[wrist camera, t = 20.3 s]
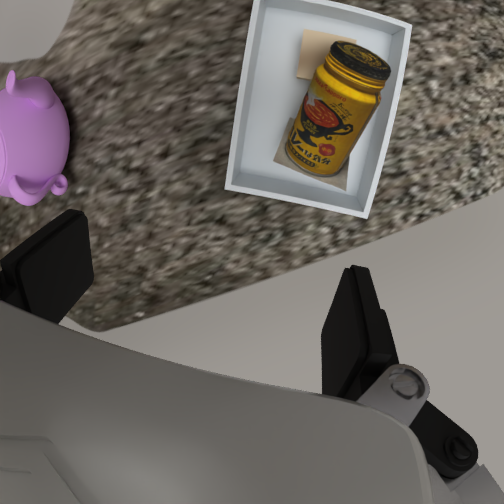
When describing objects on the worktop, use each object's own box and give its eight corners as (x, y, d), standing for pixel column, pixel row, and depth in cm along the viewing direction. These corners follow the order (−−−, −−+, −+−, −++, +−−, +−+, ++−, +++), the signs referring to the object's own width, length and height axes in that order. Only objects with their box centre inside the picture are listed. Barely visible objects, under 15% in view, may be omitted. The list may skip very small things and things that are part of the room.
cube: (303, 36, 29) (303, 28, 24) (348, 46, 28) (356, 39, 24) (296, 78, 31) (296, 76, 27) (342, 87, 31) (348, 87, 27)
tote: (262, 3, 28) (255, -11, 23) (396, 32, 27) (412, 24, 22) (234, 175, 38) (224, 189, 33) (358, 200, 37) (367, 218, 33)
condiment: (272, 162, 29) (319, 46, 19) (289, 118, 33) (328, 24, 24) (345, 193, 29) (411, 91, 19) (349, 143, 34) (399, 57, 24)
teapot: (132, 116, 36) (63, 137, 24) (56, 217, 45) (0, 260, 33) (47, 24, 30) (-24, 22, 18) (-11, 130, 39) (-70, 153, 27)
